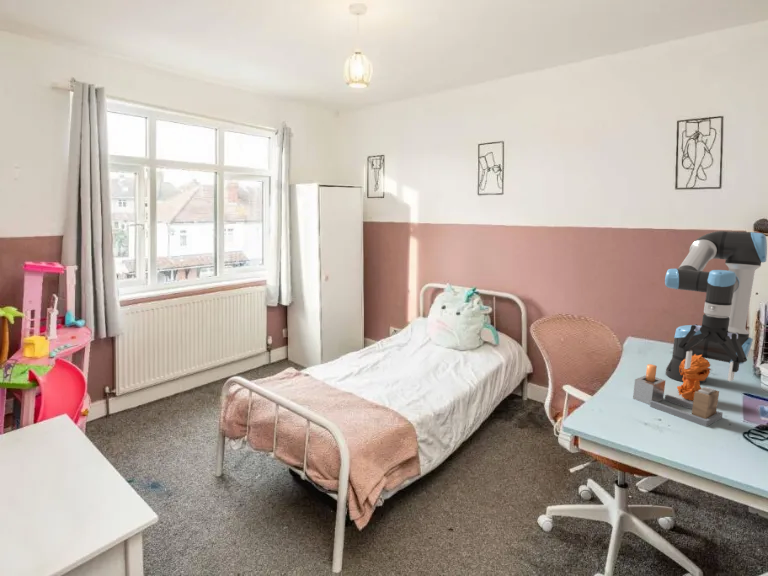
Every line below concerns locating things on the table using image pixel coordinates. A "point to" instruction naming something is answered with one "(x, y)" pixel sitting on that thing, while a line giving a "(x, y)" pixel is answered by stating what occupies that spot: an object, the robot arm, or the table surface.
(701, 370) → the orange figurine
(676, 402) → the guide channel
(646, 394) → the grey block with hole
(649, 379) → the orange rounded peg
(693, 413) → the carriage
